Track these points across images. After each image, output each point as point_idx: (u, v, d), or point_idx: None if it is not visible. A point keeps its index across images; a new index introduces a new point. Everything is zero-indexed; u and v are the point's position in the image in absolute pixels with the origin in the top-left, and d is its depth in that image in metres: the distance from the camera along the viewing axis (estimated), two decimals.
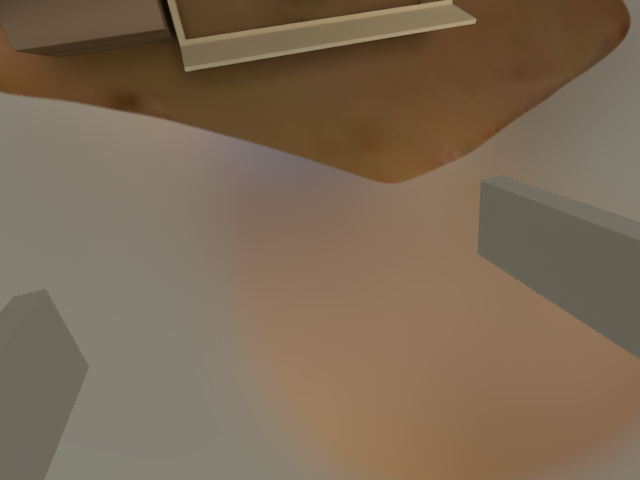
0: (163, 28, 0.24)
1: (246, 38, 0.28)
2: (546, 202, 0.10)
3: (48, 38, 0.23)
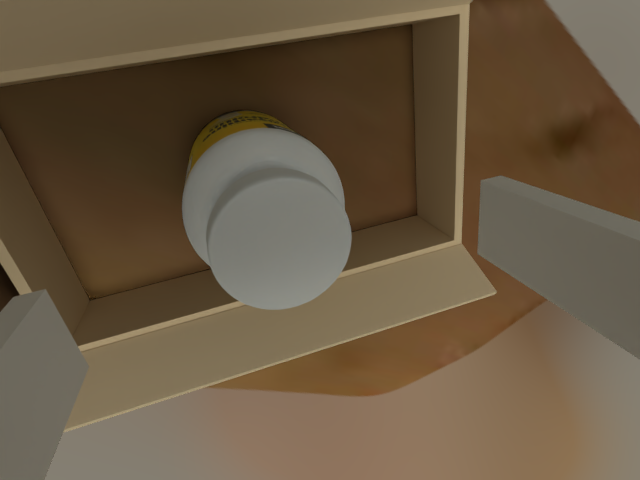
0: None
1: (160, 338, 0.19)
2: (546, 202, 0.10)
3: None
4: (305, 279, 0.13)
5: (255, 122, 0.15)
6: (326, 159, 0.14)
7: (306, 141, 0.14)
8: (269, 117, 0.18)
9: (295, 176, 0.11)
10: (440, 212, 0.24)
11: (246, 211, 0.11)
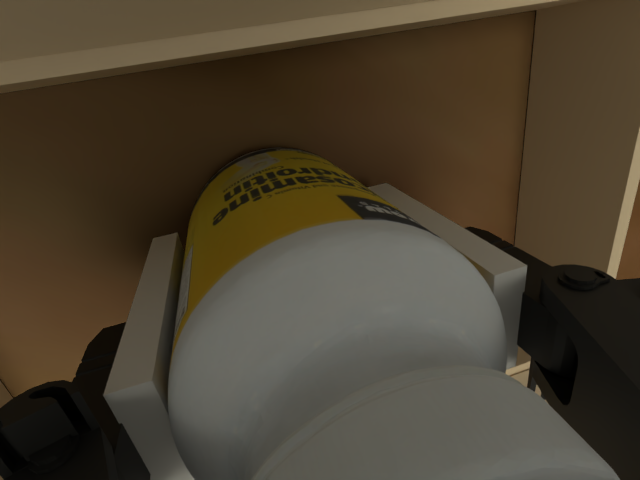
0: None
1: None
2: (403, 208, 0.11)
3: None
4: None
5: (319, 192, 0.08)
6: (485, 283, 0.07)
7: (448, 248, 0.06)
8: (325, 165, 0.11)
9: (527, 448, 0.03)
10: None
11: None
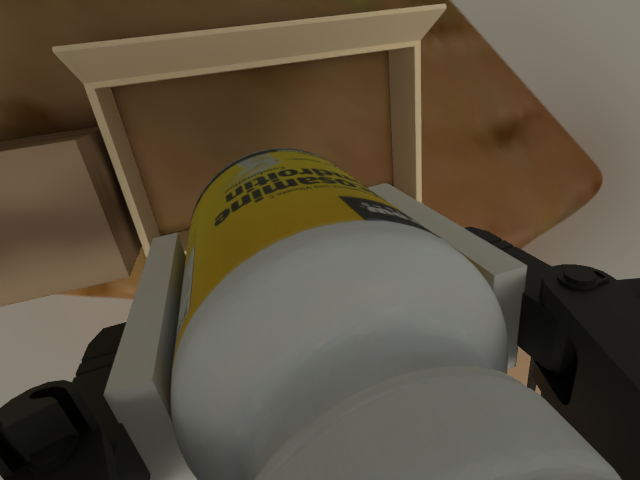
0: (127, 276, 0.25)
1: None
2: (403, 208, 0.11)
3: (11, 298, 0.23)
4: None
5: (321, 193, 0.08)
6: (486, 283, 0.07)
7: (449, 249, 0.06)
8: (327, 166, 0.11)
9: (529, 448, 0.03)
10: (407, 181, 0.33)
11: None
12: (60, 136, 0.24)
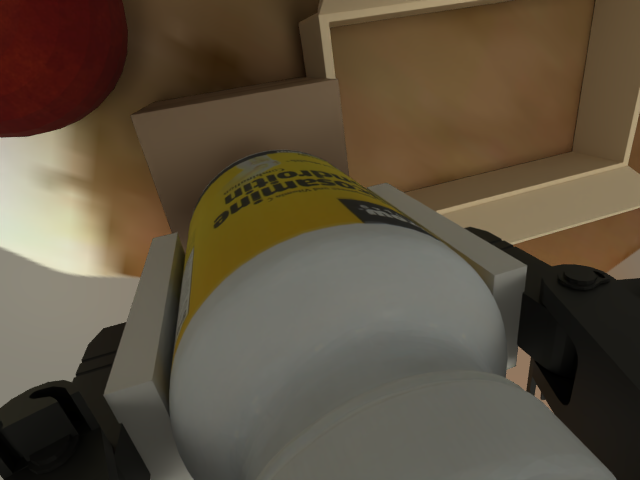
0: None
1: None
2: (403, 208, 0.11)
3: None
4: None
5: (320, 195, 0.08)
6: (485, 286, 0.07)
7: (448, 252, 0.06)
8: (326, 167, 0.11)
9: (527, 453, 0.03)
10: (607, 142, 0.29)
11: None
12: (278, 84, 0.20)
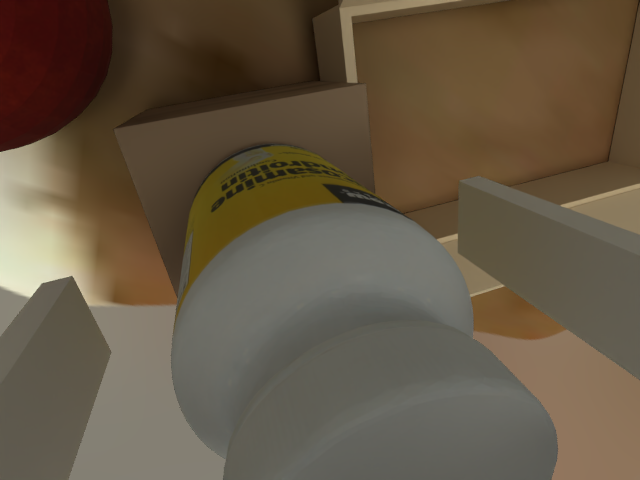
0: None
1: (447, 249, 0.22)
2: (517, 202, 0.10)
3: None
4: None
5: (307, 181, 0.08)
6: (451, 260, 0.07)
7: (417, 228, 0.07)
8: (316, 159, 0.12)
9: (460, 375, 0.04)
10: None
11: (336, 478, 0.04)
12: (291, 89, 0.17)
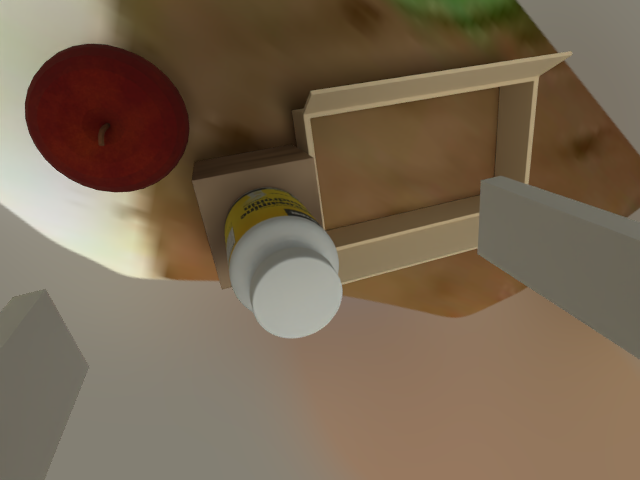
0: None
1: (373, 246, 0.36)
2: (546, 202, 0.10)
3: None
4: (312, 318, 0.19)
5: (278, 207, 0.22)
6: (326, 235, 0.21)
7: (313, 224, 0.21)
8: (285, 196, 0.26)
9: (307, 255, 0.18)
10: None
11: (277, 277, 0.18)
12: (277, 154, 0.31)
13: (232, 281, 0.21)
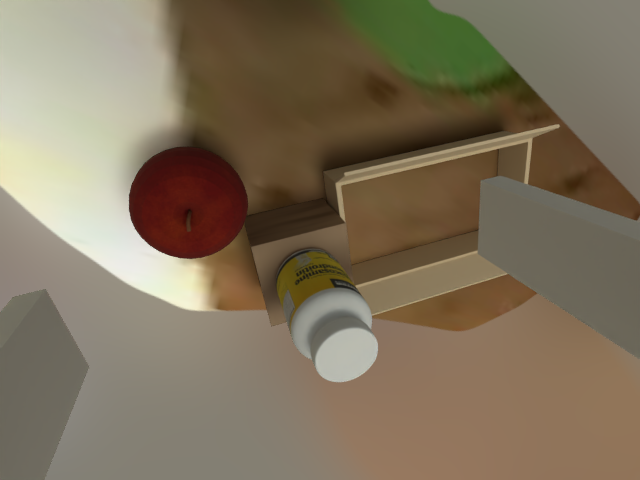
0: None
1: (391, 282, 0.43)
2: (546, 202, 0.10)
3: None
4: (356, 368, 0.26)
5: (325, 277, 0.29)
6: (363, 301, 0.28)
7: (353, 294, 0.28)
8: (326, 260, 0.32)
9: (354, 326, 0.25)
10: None
11: (333, 343, 0.25)
12: (313, 213, 0.38)
13: (294, 337, 0.28)
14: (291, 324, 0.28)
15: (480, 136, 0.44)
